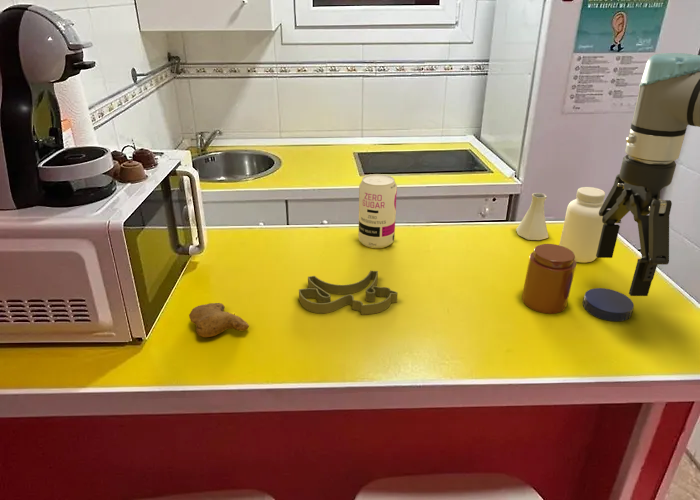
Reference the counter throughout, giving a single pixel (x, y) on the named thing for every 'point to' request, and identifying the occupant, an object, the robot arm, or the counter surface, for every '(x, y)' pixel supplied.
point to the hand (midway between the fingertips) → (619, 274)
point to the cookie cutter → (325, 305)
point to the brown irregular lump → (215, 320)
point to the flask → (534, 220)
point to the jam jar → (549, 278)
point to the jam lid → (608, 304)
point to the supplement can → (377, 210)
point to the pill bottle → (583, 224)
